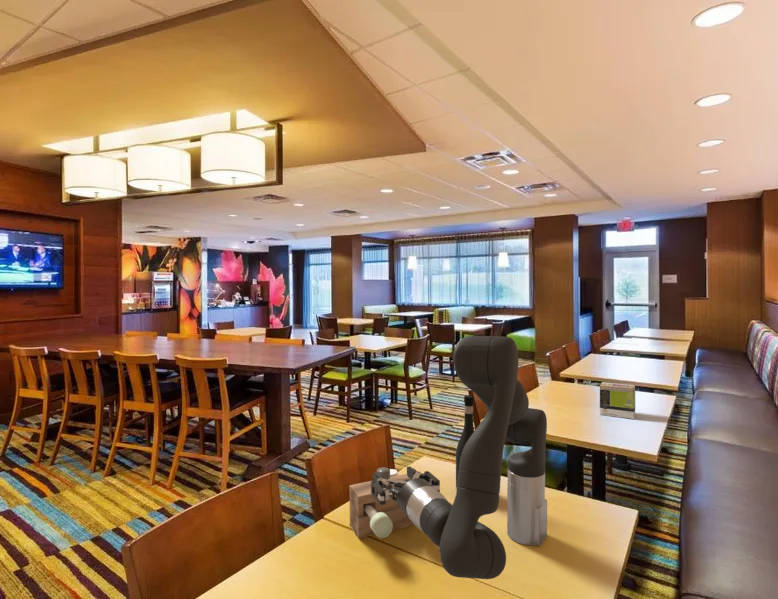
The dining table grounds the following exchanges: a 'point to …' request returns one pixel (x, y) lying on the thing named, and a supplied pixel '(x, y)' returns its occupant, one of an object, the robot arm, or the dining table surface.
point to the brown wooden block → (363, 496)
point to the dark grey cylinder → (384, 473)
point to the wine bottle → (465, 430)
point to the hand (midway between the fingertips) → (391, 473)
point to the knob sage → (378, 521)
